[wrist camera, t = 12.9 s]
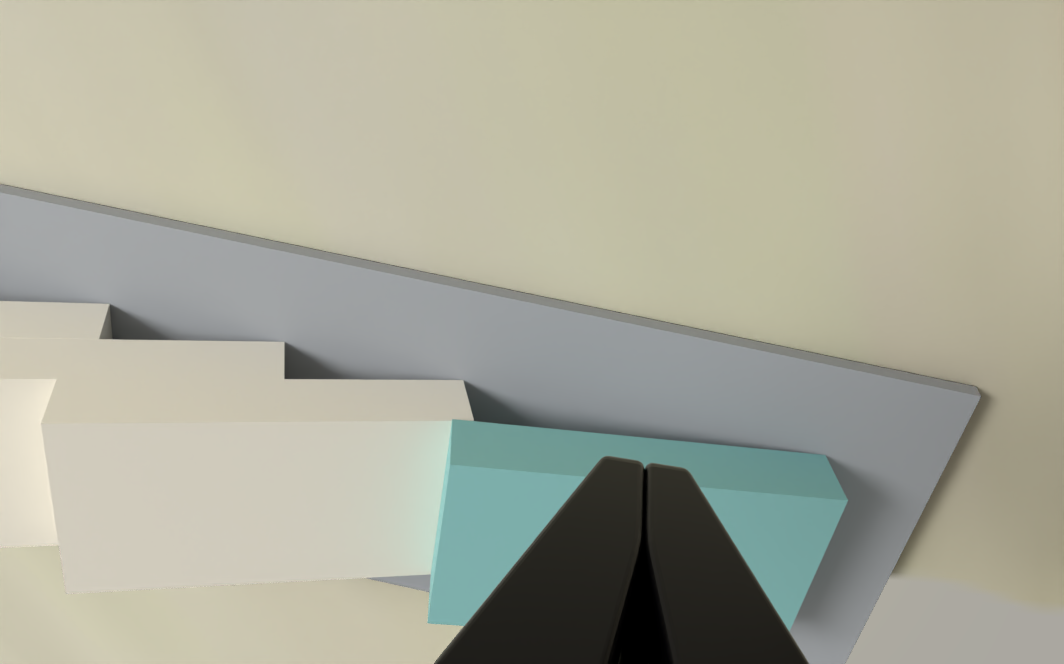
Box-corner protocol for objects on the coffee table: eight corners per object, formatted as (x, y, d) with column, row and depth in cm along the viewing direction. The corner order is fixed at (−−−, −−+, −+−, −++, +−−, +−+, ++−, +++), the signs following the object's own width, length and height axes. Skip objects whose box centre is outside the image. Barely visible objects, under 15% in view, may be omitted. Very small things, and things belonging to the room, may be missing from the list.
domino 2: (474, 420, 21) (40, 423, 19) (448, 573, 24) (65, 594, 21) (462, 379, 22) (56, 377, 20) (440, 529, 25) (78, 543, 22)
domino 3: (847, 500, 21) (450, 464, 19) (782, 647, 23) (427, 623, 22) (825, 455, 22) (452, 419, 21) (765, 598, 24) (430, 573, 23)
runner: (976, 386, 21) (981, 396, 21) (833, 670, 26) (835, 682, 26) (-103, 163, 22) (-116, 168, 22) (-35, 478, 27) (-44, 487, 27)
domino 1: (284, 379, 21) (-171, 378, 19) (280, 535, 24) (-120, 552, 21) (284, 341, 22) (-141, 336, 20) (280, 493, 25) (-97, 505, 23)
